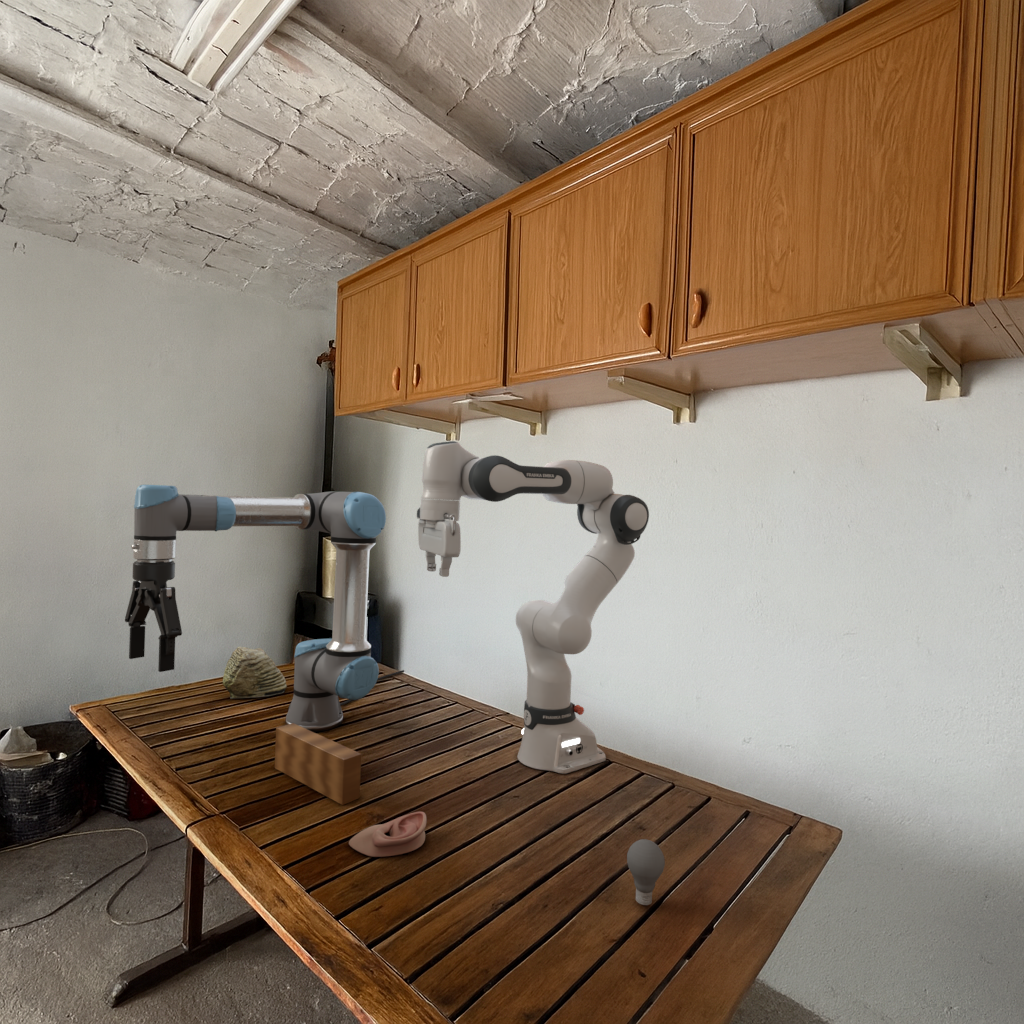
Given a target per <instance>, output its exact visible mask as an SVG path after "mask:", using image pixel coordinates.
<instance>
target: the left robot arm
mask: <svg viewBox="0 0 1024 1024" xmlns="http://www.w3.org/2000/svg"><path fill="white" fill-rule="evenodd" d="M178 491H179V490H178V487H176V485H164V484H163V485H162V484H161V485H160V484H140V485H138V487H137V488H136V490H135V495H134V505H133V509H134V511H133V513H134V515H133V521H134V522H133V523H134V524H133V526H134V527H133V544H131V549H132V550H133V553H132V554H133V555H132V556H133V557H132V558H133V559H134V560H135V561H133V563H132V579H133V581H132V587H131V594H130V598H129V602H128V605H127V609H126V612H125V617H124V622H125V623H128V627H129V643H128V644H129V645H128V646H129V647H128V659H129V660H133V659H140V658H144V657H145V652H146V651H145V650H146V649H145V647H146V625H147V621H146V619H147V616H148V614H149V613H150V610H151V611H153V612H154V616H155V619H156V622H157V625H158V628H159V632H160V635H159V636H158V667H157V668H158V669H157V671H158V672H159V673H162V672H168V671H173V670H175V663H176V662H175V660H176V659H175V658H176V638H177V637H180V636H183V635H182V634H183V632H182V625H181V621H180V614H179V609H178V603H177V599H176V597H177V596H176V587H175V586H168V583H167V582H168V581H171V580H173V579H175V576H176V562H175V561H174V560H175V559H176V556H177V532H185V531H186V532H187V531H188V532H194V531H195V532H197V531H198V532H210V531H211V532H219V531H228V530H230V529H232V528H233V527H294V528H295V529H296V530H308V531H309V530H310V531H317V532H322V533H327V534H330V544H331V545H332V546H333V547H334V548H335V551H336V552H335V569H334V570H335V571H334V589H333V590H334V591H333V592H334V593H333V594H334V595H333V614H332V616H333V617H332V633H331V634H332V636H331V638H317V639H308V640H304V641H300V642H299V643H297V645H296V646H295V650H294V655H293V657H294V672H293V673H294V674H293V695H292V696H293V697H292V699H291V702H290V704H289V705H288V711H287V713H286V715H285V725H288V724H291V723H294V724H296V725H298V726H301V727H303V728H305V729H307V730H310V731H312V732H314V733H316V732H317V733H318V732H325V731H329V730H332V729H335V728H337V727H339V726H340V725H342V723H343V722H344V714H343V709H342V706H344V705H347V704H349V703H352V702H353V701H357V700H360V699H363V698H364V697H366V696H367V695H368V694H370V692H371V690H373V689H374V687H375V685H376V684H377V682H378V681H380V680H383V679H387V678H389V677H392V676H396V675H399V674H403V673H404V672H405V670H404V669H402V670H399V671H395V672H392V673H389V674H386V675H383V676H380V675H379V674H380V668H379V664H378V662H377V661H376V660H375V659H374V657H372V656H371V655H372V644H371V643H370V642H369V641H368V640H367V637H366V636H367V617H368V615H367V614H368V595H369V594H368V593H369V592H368V591H369V572H370V551H371V549H372V548H373V547H374V546H375V545H376V544H377V537H378V536H379V535H380V534H381V533H382V531H383V530H384V528H385V526H386V521H387V515H386V509H385V507H384V504H383V503H382V502H381V501H380V499H379V498H378V497H376V496H375V495H373V494H371V493H367V492H363V491H337V490H336V491H335V490H333V491H324V492H322V491H321V492H314V493H297V494H295V495H294V496H262V495H261V496H260V495H259V496H257V495H249V496H248V495H221V494H219V495H217V494H179V492H178ZM339 698H341V699H344V700H345V699H347V700H345V701H343V702H340V699H339Z"/></svg>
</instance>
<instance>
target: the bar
mask: <svg viewBox="0 0 1024 1024" xmlns="http://www.w3.org/2000/svg"><path fill="white" fill-rule="evenodd" d="M274 749H275V750H274V769H275V770H277V771H279V772H280V773H283V774H284V775H287V776H289V777H290V778H292V779H293V780H296V781H298V782H299V783H301V784H303V785H305V786H307V787H308V788H310V789H312V790H314V791H315V792H318V793H319V794H321V795H323V796H324V797H327V798H328V799H330V800H332V801H334V802H335V803H338V804H340V805H341V806H344V805H346V804H348V803H351V802H353V801H356V800H358V799H360V798H361V775H362V774H361V772H362V753H361V752H358V751H357V750H354V749H351V748H350V747H347V746H345V745H343V744H341V743H339V742H336V741H334V740H332V739H329V738H327V737H325V736H323V735H321V734H318V733H316V732H312V731H310V730H307V729H305V728H303V727H301V726H298V725H296V724H294V723H291V724H288V725H286V724H284V725H281V726H278V727H276V728H275V748H274Z"/></svg>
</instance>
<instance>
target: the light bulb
mask: <svg viewBox="0 0 1024 1024" xmlns="http://www.w3.org/2000/svg"><path fill="white" fill-rule="evenodd" d="M626 862H627V863H626V864H627V867H628V869H629V871H630V873H631V876H632V877H633V883H634V886H635V901H636V902H637V903H638V904H639V905H642V906H649V905H651V904H652V903H653V891H654V889H655V887H656V883H657V881H658V879H659V878H660V877H661V875H662V874H663V872H664V869H665V866H666V861H665V856H664V853H663V851H662V849H661V848H660V846H659V845H658V844H657V843H656V842H654V841H652V840H651V839H647V838H642V839H638V840H636V841H634V842H633V843H631V845H630V846H629V848H628V851H627V853H626Z"/></svg>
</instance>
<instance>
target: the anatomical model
mask: <svg viewBox="0 0 1024 1024" xmlns="http://www.w3.org/2000/svg"><path fill="white" fill-rule="evenodd" d="M427 821H428V819H427V814H426V813H425V812H424V811H414V812H411V813H408V814H404V815H402V816H399V817H396V818H395V819H391V820H390V821H388V822H385V823H382V824H381V823H380V824H374V825H371V826H369V827H366V828H364V829H362V830H361V831H359V832H358V833H356V834H355V835H354V836H352V837H351V838H350V839H349V841H348V845H349V847H351V848H352V849H353V850H355V851H356V852H358V853H360V854H362V855H365V856H367V857H371V858H372V857H373V858H382V857H391V856H399V855H403V854H407V853H410V852H412V851H413V852H414V851H415V850H417V849H419V848H420V847H422V846H423V845H424V843H425V842H426V832H425V829H426V827H427Z"/></svg>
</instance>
